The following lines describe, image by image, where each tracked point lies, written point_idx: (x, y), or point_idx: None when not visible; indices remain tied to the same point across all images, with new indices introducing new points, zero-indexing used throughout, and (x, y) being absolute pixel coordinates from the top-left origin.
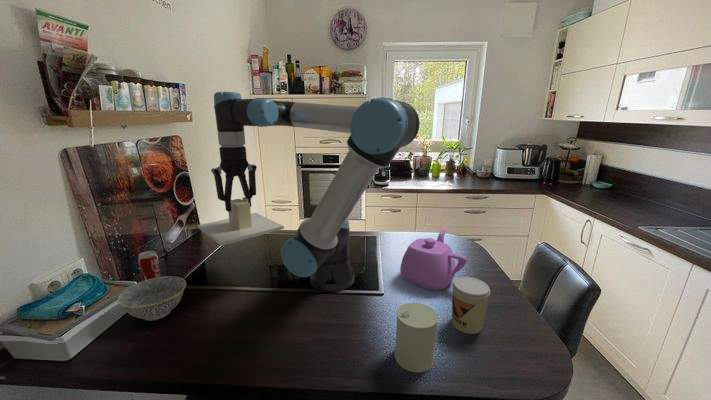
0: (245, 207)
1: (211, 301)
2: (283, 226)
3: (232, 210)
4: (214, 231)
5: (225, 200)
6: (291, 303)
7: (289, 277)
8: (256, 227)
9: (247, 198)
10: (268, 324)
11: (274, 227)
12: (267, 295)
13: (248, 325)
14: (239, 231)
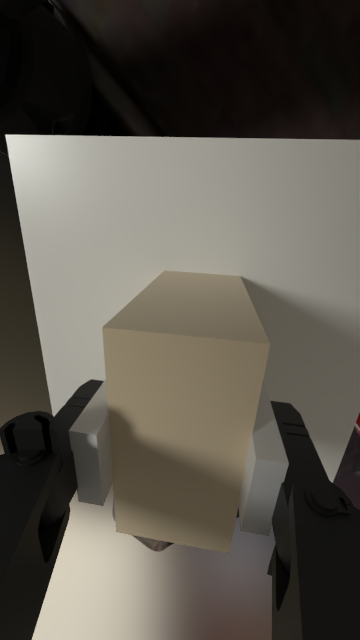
0: (170, 316)
1: None
2: (9, 135)
3: (262, 390)
4: (342, 360)
5: (358, 518)
6: (184, 61)
7: None
8: (148, 244)
9: (68, 448)
10: (290, 3)
11: (63, 153)
12: None
13: (327, 49)
14: (254, 255)
